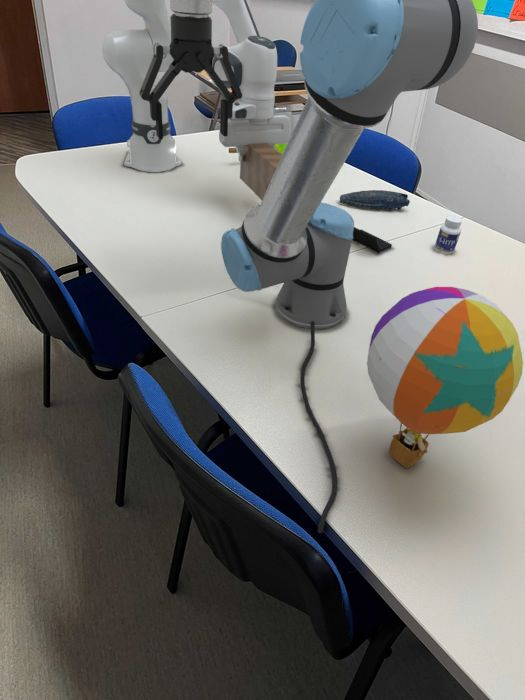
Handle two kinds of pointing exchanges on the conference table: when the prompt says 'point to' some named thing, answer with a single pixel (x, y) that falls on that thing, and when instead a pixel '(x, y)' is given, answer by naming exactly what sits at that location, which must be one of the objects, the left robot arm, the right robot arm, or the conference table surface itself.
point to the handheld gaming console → (370, 241)
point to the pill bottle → (448, 235)
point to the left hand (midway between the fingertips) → (254, 160)
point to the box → (259, 167)
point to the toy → (442, 365)
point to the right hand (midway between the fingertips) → (192, 135)
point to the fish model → (376, 199)
